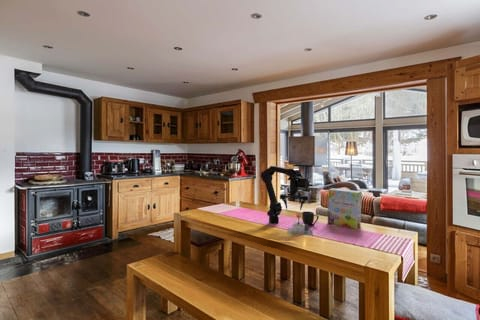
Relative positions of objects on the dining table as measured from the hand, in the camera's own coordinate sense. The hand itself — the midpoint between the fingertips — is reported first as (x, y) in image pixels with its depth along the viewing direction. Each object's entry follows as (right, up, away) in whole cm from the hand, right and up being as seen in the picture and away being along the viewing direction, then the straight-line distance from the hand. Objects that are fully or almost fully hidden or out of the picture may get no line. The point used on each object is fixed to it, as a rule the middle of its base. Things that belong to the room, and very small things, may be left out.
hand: (293, 209), depth 184 cm
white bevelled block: (+2, -13, -9) cm, 16 cm away
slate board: (+2, -13, -9) cm, 16 cm away
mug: (+13, -13, +7) cm, 20 cm away
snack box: (+39, -14, +12) cm, 43 cm away
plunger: (+1, -9, -9) cm, 13 cm away
